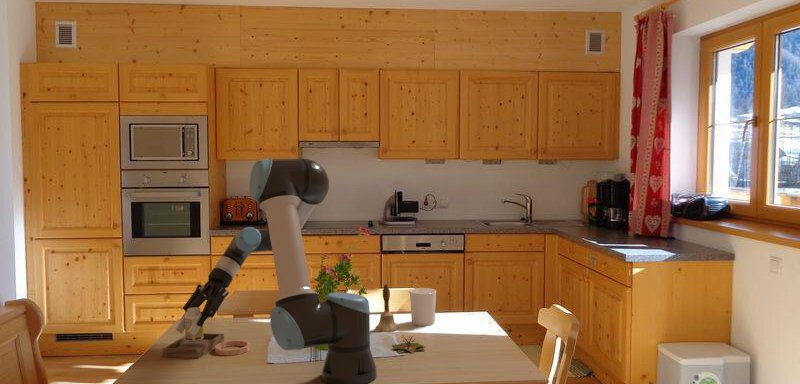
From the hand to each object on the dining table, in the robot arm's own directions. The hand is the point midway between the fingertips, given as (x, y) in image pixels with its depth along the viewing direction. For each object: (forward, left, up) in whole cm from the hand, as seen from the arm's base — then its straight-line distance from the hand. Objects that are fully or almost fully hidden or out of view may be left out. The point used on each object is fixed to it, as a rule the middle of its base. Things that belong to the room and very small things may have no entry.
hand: (184, 332), depth 198 cm
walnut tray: (+3, -2, -6) cm, 7 cm away
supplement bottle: (+3, -2, -4) cm, 5 cm away
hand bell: (+33, -60, -6) cm, 69 cm away
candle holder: (+42, -72, -6) cm, 83 cm away
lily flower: (+11, -70, -7) cm, 72 cm away
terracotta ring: (+3, -15, -6) cm, 16 cm away
